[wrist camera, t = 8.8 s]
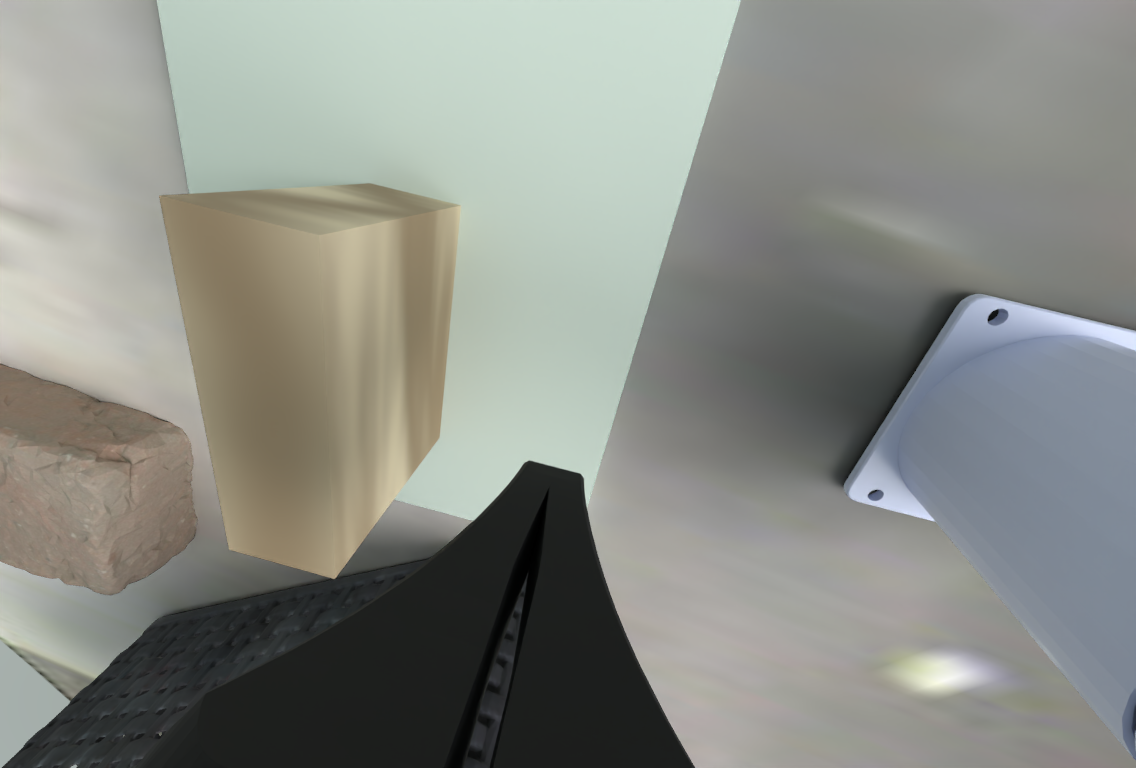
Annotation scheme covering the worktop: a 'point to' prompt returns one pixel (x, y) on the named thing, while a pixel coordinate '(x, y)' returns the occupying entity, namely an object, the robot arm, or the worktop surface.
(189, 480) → the brick
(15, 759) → the storage bin
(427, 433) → the slab
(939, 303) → the worktop surface
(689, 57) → the mat
